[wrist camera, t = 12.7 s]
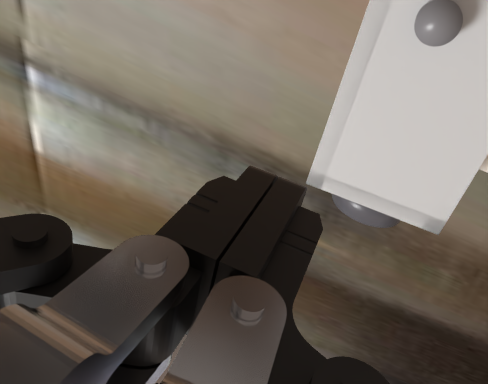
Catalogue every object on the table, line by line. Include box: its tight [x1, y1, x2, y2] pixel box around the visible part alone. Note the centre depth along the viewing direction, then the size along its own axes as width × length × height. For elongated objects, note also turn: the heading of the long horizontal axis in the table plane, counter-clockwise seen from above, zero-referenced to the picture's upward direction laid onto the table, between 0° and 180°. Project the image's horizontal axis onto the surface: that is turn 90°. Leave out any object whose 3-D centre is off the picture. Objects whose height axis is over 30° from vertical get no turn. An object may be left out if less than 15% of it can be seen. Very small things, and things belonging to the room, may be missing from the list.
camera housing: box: [306, 0, 488, 235], centre depth 31 cm, size 18×10×11 cm, turn 167°
